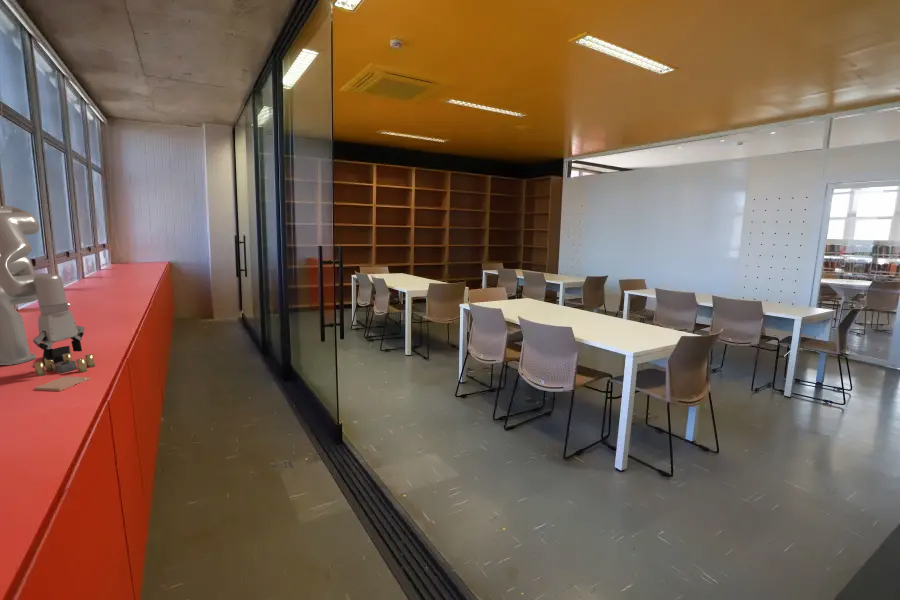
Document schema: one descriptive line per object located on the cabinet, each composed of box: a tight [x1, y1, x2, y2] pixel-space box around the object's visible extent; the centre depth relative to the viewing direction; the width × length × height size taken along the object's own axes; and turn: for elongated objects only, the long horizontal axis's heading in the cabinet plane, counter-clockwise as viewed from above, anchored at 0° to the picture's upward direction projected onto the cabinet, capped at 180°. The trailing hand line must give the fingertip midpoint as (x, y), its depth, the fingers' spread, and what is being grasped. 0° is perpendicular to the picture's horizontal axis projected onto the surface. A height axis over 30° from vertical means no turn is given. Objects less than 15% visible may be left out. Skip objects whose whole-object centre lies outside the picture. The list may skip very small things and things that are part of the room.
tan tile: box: [34, 375, 91, 392], centre depth 148 cm, size 10×10×1 cm
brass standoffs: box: [33, 352, 96, 377], centre depth 162 cm, size 16×12×4 cm
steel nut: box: [54, 360, 78, 374], centre depth 162 cm, size 6×5×3 cm
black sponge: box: [41, 345, 72, 367], centre depth 176 cm, size 16×8×4 cm, turn 40°
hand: (64, 355), depth 161 cm, fingers open, 9 cm apart
